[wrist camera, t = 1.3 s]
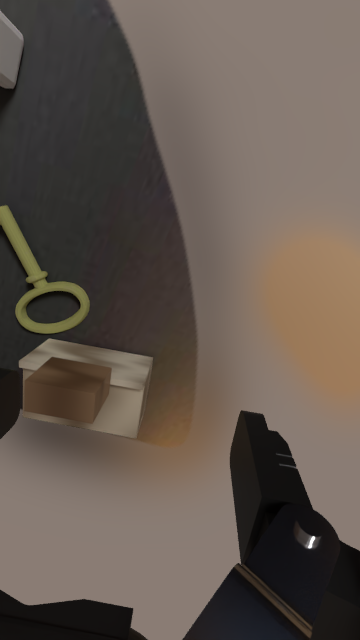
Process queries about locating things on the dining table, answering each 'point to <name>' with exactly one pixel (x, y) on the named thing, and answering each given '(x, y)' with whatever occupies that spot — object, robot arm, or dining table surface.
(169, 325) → the dining table surface
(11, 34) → the salt shaker
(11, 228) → the key
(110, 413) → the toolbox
